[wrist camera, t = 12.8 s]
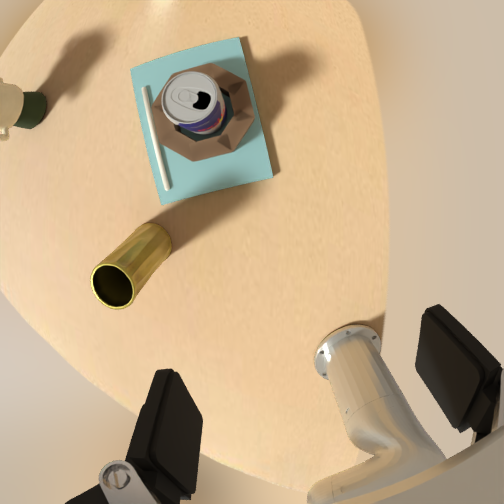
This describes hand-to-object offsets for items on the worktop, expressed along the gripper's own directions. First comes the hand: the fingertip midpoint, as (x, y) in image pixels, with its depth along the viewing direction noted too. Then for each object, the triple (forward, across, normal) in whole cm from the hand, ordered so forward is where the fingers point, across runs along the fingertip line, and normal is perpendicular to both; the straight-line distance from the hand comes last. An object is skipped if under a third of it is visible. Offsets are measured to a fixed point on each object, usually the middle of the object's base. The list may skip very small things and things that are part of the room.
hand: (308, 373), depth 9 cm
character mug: (+31, +31, -26) cm, 51 cm away
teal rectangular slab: (+30, +5, -14) cm, 34 cm away
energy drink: (+29, +4, -14) cm, 33 cm away
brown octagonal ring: (+29, +4, -14) cm, 33 cm away
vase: (+31, +16, +1) cm, 34 cm away
